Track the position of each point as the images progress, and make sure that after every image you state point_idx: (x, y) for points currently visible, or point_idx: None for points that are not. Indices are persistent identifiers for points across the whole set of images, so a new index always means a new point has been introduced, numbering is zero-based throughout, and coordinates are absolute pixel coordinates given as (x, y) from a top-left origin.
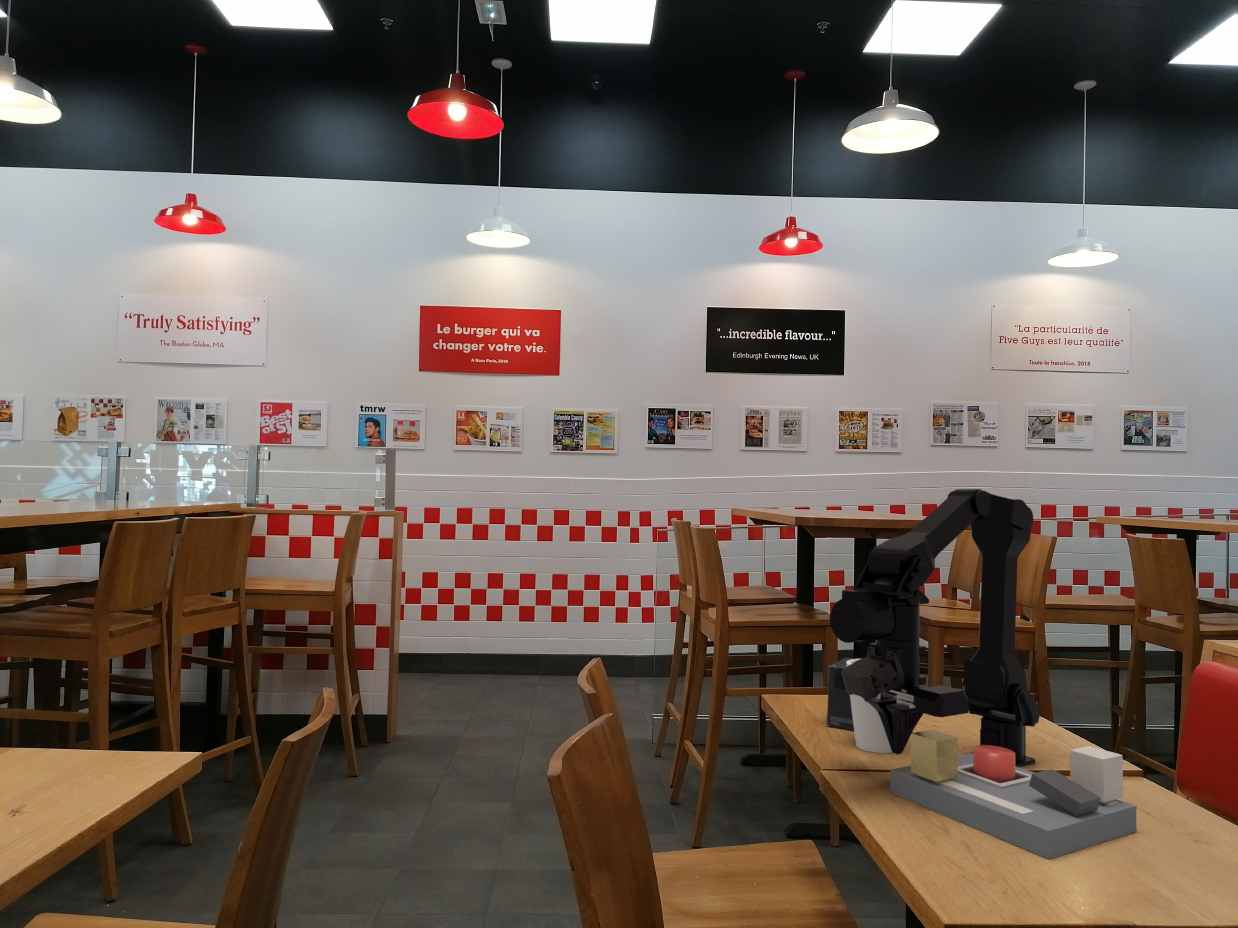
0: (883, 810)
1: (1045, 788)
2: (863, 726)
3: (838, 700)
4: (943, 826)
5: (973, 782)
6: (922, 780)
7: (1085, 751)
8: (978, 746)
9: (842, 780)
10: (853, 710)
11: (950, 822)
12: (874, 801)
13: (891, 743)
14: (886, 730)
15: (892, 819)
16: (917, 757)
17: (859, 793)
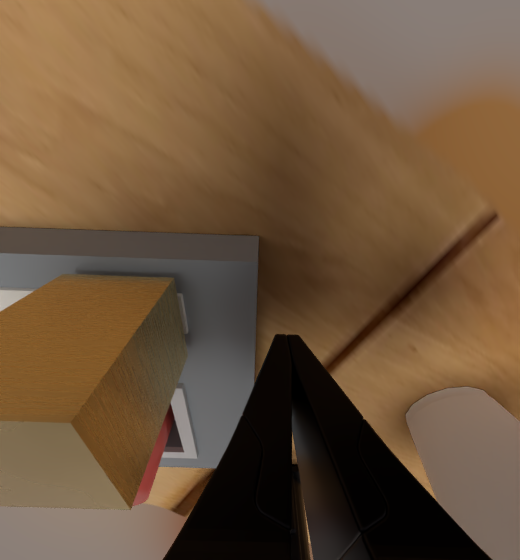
0: (150, 79)
1: None
2: (509, 440)
3: None
4: (3, 157)
5: None
6: (130, 269)
7: None
8: (139, 487)
9: (403, 186)
10: None
11: (34, 202)
12: (226, 125)
13: (300, 355)
14: (338, 403)
15: (66, 28)
16: (108, 312)
17: (300, 139)
